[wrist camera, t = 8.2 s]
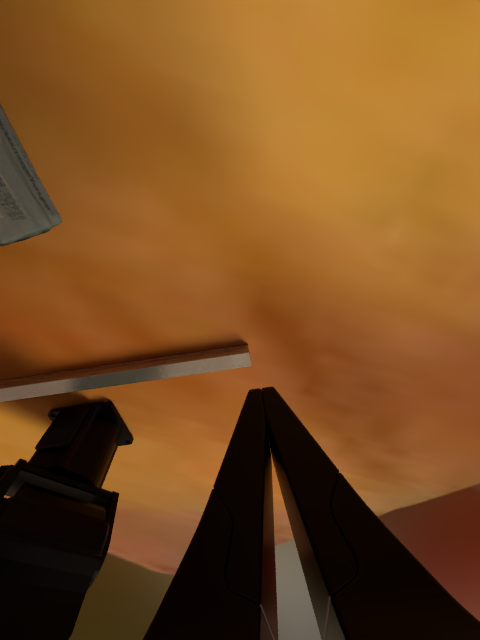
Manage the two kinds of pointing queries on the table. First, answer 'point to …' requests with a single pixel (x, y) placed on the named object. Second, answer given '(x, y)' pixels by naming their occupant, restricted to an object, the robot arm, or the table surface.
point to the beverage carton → (21, 192)
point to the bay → (125, 373)
